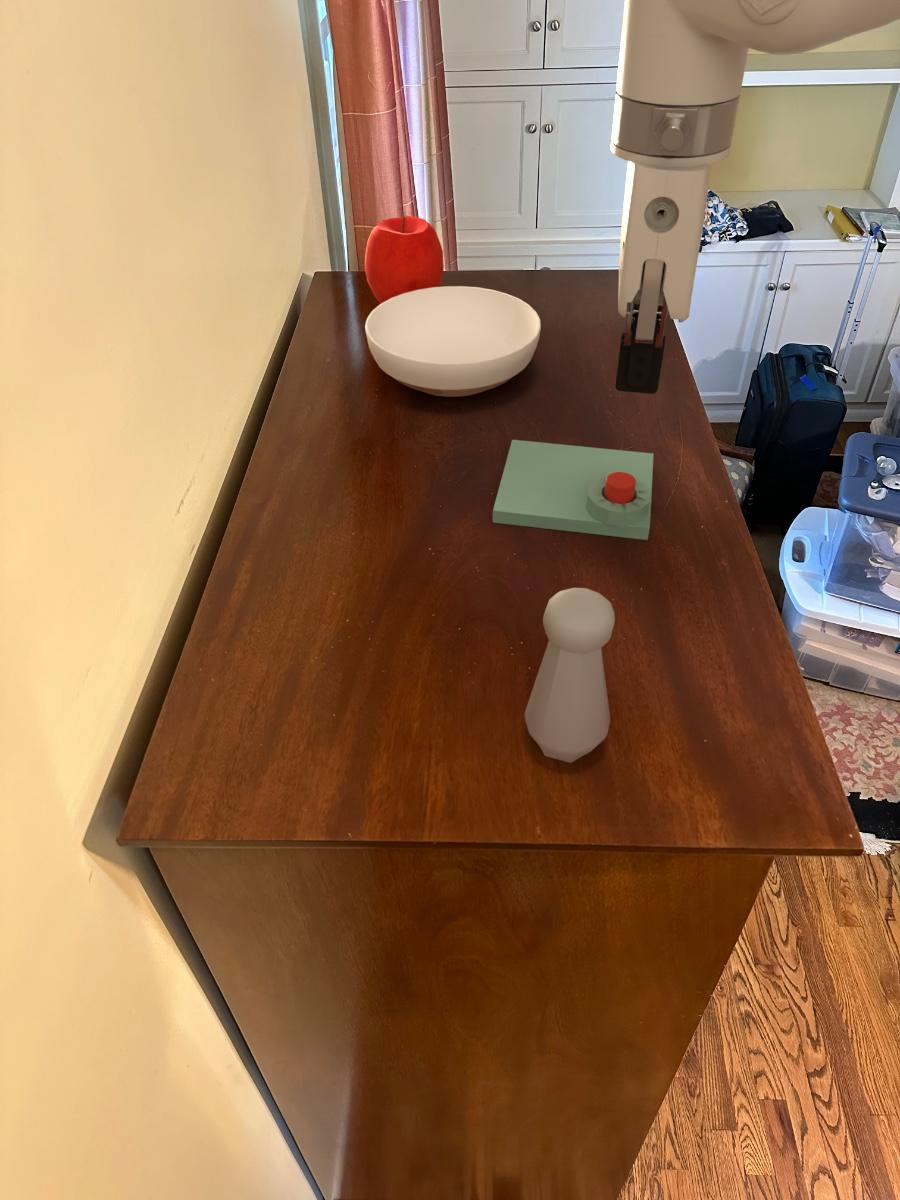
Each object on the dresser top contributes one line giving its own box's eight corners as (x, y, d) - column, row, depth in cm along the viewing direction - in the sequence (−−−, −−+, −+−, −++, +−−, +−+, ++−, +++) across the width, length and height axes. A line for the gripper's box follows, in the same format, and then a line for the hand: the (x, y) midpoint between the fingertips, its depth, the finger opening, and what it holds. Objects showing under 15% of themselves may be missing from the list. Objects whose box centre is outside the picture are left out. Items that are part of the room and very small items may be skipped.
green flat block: (651, 465, 85) (656, 439, 83) (647, 542, 76) (652, 515, 74) (511, 451, 87) (512, 425, 85) (492, 524, 79) (492, 497, 77)
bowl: (337, 365, 101) (331, 315, 97) (468, 320, 109) (468, 272, 105) (434, 436, 90) (433, 383, 85) (573, 379, 98) (578, 328, 94)
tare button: (634, 489, 78) (636, 473, 77) (632, 506, 76) (635, 490, 75) (605, 486, 78) (607, 470, 77) (603, 503, 76) (605, 486, 75)
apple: (409, 339, 106) (404, 238, 97) (351, 317, 110) (342, 219, 102) (460, 311, 111) (459, 213, 103) (403, 292, 116) (398, 197, 108)
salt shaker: (604, 710, 62) (628, 575, 54) (607, 775, 58) (633, 641, 49) (524, 704, 63) (534, 570, 54) (521, 769, 59) (531, 634, 50)
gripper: (737, 162, 48) (684, 443, 61) (730, 98, 59) (686, 347, 72) (603, 157, 50) (578, 433, 62) (620, 95, 60) (596, 340, 73)
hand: (636, 386), depth 67 cm, fingers closed
